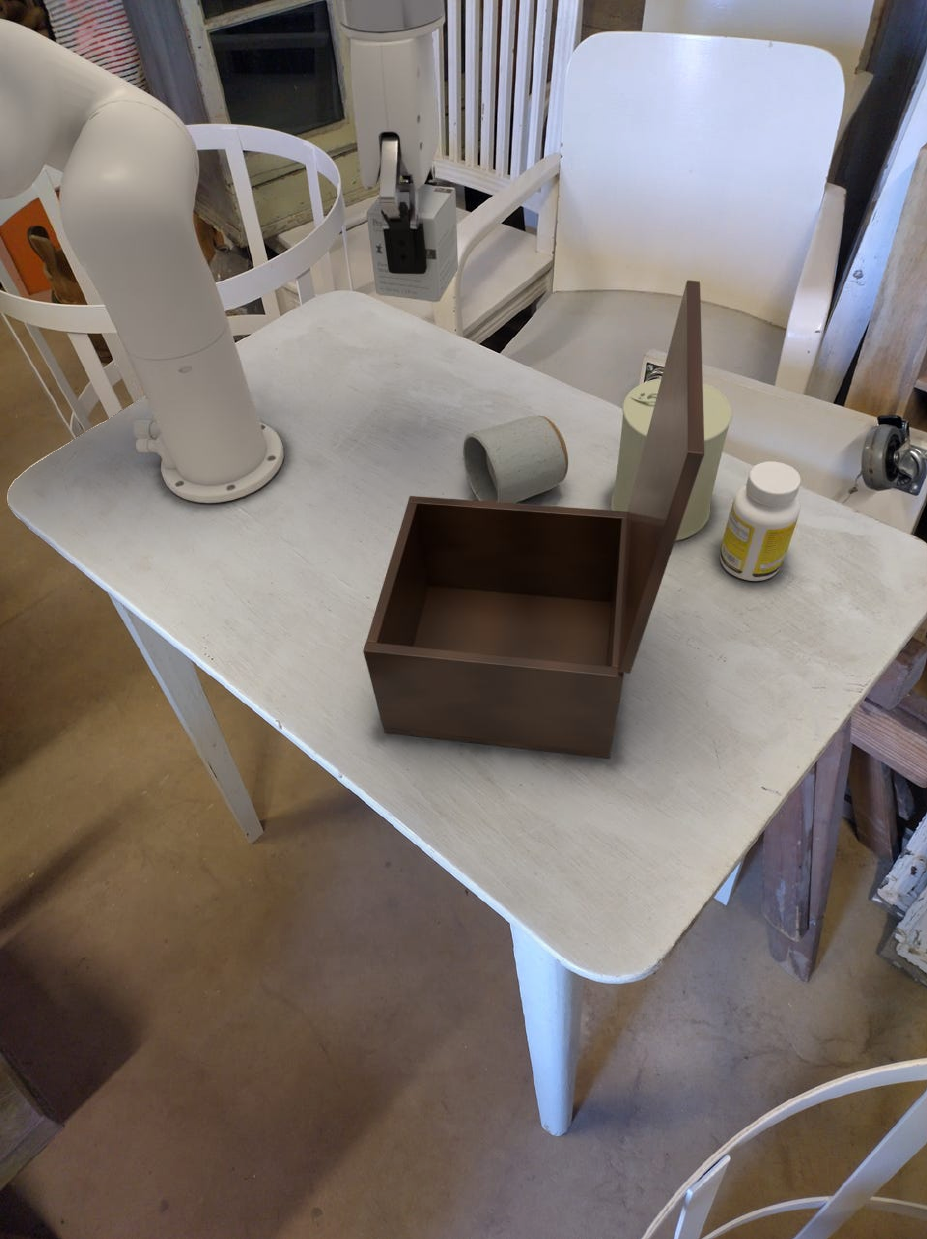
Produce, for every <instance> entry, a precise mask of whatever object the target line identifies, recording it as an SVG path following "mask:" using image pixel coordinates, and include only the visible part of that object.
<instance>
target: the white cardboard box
mask: <svg viewBox="0 0 927 1239" xmlns="http://www.w3.org/2000/svg"><path fill="white" fill-rule="evenodd" d="M456 193H457V192H456V188H455V187H451V186H439V185H437V186H432V185H427V184H423V185H422V186H421V187H420V188H419V189H418V206H419V223H423V230H424V241H425V252H426V263H427V269H426V272H425V273H424V274H393V273H390V272H389V270H388V263H387V255H386V247H385V240H384V232H383V225H382V214H381V210H382V208H381V206H380V202H379V196H378V197H377V198H376V199H375V200H374V202H372V204H371V205H370V206H369V207H368V209H367V210H366V222H367V232H368V238H369V246H370V247H369V248H370V256H371V263H372V272H373V279H374V288H375V293H376V294H377V295H378V296H384V297H393V298H403V299H410V300H418V301H425V302H431V303H438V302H441V301H442V300H441V299H442V298H443V296H444V295H445V293H446V291H447V290H448V288H449V285H450V284H451V282H452V281H453V279H454V277H455V275H456V274H457V272H458V270H459V258H458V257H459V256H458V254H459V253H458V229H457V228H458V227H457V226H458V225H457V224H458V223H457V201H456V200H457V199H456V198H457V197H456ZM399 194H400V197H401V202H406V204H407V206H408V208H409V193H399Z"/></svg>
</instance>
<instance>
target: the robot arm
mask: <svg viewBox="0 0 927 1239" xmlns="http://www.w3.org/2000/svg"><path fill="white" fill-rule="evenodd" d="M335 3H336V9H337V15H338V16H337V17H338V22H339V30H340V32H341V34H342V35H343V36H346V37H348V38H350V41H349V44H350V46H349V47H350V48H349V50H350V51H349V52H350V53H349V54H350V55H349V56H350V57H349V58H350V78H351V80H350V81H351V93H352V94H351V95H352V105H353V116H354V126H355V135H356V146H357V156H358V165H359V174H360V182H361V185H362V186H363V188H365V189H366V190H367V191H371V190H373V188H376V186H377V184H378V182H379V189H378V190H379V191H378V192H379V193H378V197H379V202H380V206H381V208H382V210H381V214H382V225H383V232H384V240H385V247H386V255H387V263H388V270H389V272H390V273H393V274H424V273H425V272H426V269H427V263H426V252H425V241H424V230H423V223H419V206H418V189H419V188H420V187H421V186H422V185H423V184H427V185H432V186H438V183H437V181H436V165H435V160H434V159H435V157H436V153H437V150H438V146H439V138H440V117H439V98H438V84H437V83H438V82H437V70H436V59H435V50H434V37H433V33H434V32H436V31H437V30H438V29H441V28H442V27H443V26H444V25H445V22H446V11H445V0H335ZM45 165H46V166H48V167H51V169H52V168H53V169H55V170H57V171H59V172H60V173H62V174H61V179H60V186H59V194H58V195H59V196H58V206H59V215H60V220H61V225H62V229H63V231H64V234H65V237H66V239H67V241H68V243H69V246H70V248H71V250H72V251H73V254H74V256H75V257H76V258H77V260H78V262H79V263H80V265H81V267H82V268H83V270H84V271H85V273H86V274H87V276H88V278H89V279H90V281H91V283H92V284H93V286H94V288H95V290H96V291H97V293H98V295H99V297H100V298H101V301H102V303H103V305H104V307H105V310H106V311H107V313H108V315H109V318H110V320H111V322H112V324H113V327H114V329H115V331H116V333H117V335H118V338H119V340H120V343H121V344H122V347H123V348H124V351H125V353H126V355H127V357H128V360H129V362H130V365H131V367H132V369H133V371H134V374H135V377H136V378H137V381H138V383H139V386H140V388H141V390H142V392H143V395H144V397H145V399H146V402H147V404H148V406H149V408H150V411H151V413H152V415H153V418H154V420H151V419H150V420H149V419H148V420H147V419H136V420H135V421H134V423H133V434H134V436H135V437H136V438H137V439H136V441H135V449H136V450H137V452H139V453H140V452H141V453H157V454H158V455H159V456H160V457H161V459H162V460H161V464H160V471H161V475H162V478H163V480H164V482H165V484H166V486H167V487H168V488H169V490H170V491H171V492H172V493H173V494H175V495H176V496H178V497H180V498H182V499H184V500H185V501H190V502H195V503H201V504H203V503H204V504H216V503H223V502H229V501H234V500H237V499H241V498H243V497H246V496H248V495H250V494H252V493H254V492H255V491H257V490H259V489H261V488H262V487H264V486H265V485H266V484H267V483H269V482H270V480H272V479H273V478H274V476H275V475H276V474H277V473H278V472H279V470H280V468H281V466H282V464H283V461H284V455H285V454H284V446H283V443H282V439H281V438H280V436H279V434H278V433H277V431H276V430H274V428H273V427H271V426H269V425H268V424H266V423H264V422H261V421H260V419H259V415H258V412H257V409H256V405H255V402H254V399H253V397H252V392H251V390H250V386H249V383H248V380H247V377H246V374H245V371H244V367H243V364H242V360H241V357H240V354H239V351H238V348H237V344H236V342H235V339H234V335H233V332H232V329H231V325H230V322H229V319H228V316H227V313H226V310H225V307H224V303H223V301H222V298H221V294H220V291H219V289H218V286H217V283H216V280H215V278H214V275H213V273H212V271H211V268H210V266H209V263H208V262H207V259H206V257H205V255H204V253H203V250H202V248H201V245H200V242H199V239H198V236H197V232H196V228H195V223H194V222H195V221H194V210H195V204H196V194H197V190H198V184H199V178H200V160H199V153H198V149H197V145H196V142H195V140H194V138H193V135H192V134H191V132H190V130H189V128H188V127H187V126H186V124H185V123H184V122H183V120H182V119H181V118H180V117H179V116H178V114H177V113H175V112H174V111H173V110H172V109H171V108H170V107H168V106H167V105H166V104H165V103H164V102H162V101H161V100H159V99H158V98H156V97H155V96H153V95H152V94H149V93H148V92H147V91H145V90H143V89H141V88H139V87H137V85H135V84H132V83H130V82H129V81H127V80H125V79H124V78H121V77H120V76H117V75H116V74H114V73H112V72H110V71H109V70H107V69H105V68H103V67H101V66H99V65H97V64H96V63H94V62H93V61H90V60H88V59H86V58H85V57H83V56H81V55H79V54H77V53H75V52H74V51H72V50H70V49H68V48H67V47H65V46H63V45H62V44H59V43H57V42H56V41H54V40H52V39H50V38H48V37H47V36H44V35H42V34H41V33H39V32H37V31H35V30H33V29H31V28H29V27H26V26H24V25H22V24H19V23H17V22H14V21H12V20H11V21H10V20H7V19H3V18H0V200H7V199H12V198H16V197H18V196H20V195H21V194H23V193H24V192H26V191H27V190H28V189H29V188H31V186H32V185H33V184H34V183H35V181H36V180H37V178H38V177H39V175H40V174H41V172H42V171H43V169H44V167H45ZM400 177H401V178H402V181H400V179H401V178H400ZM399 193H409V208H408V206H407V204H406V202H401V197H400V194H399Z"/></svg>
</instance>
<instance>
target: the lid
mask: <svg viewBox="0 0 927 1239" xmlns="http://www.w3.org/2000/svg"><path fill="white" fill-rule="evenodd" d="M701 298H702V296H701V282H700V281H699V280H698V281H697V280H686V282H685V286H684V290H683V293H682V298H681V302H680V305H679V309H678V314H677V316H676V321H675V324H674V328H673V333H672V336H671V340H670V344H669V347H668V352H667V356H666V360H665V363H664V367H663V371H662V375H661V377H660V378H661V382H660V386H659V390H658V394H657V398H656V401H655V405H654V409H653V413H652V417H651V421H650V425H649V428H648V432H647V436H646V440H645V444H644V448H643V452H642V456H641V459H640V463H639V467H638V471H637V475H636V479H635V483H634V486H633V490H632V494H631V498H630V502H629V506H628V519H627V536H626V553H625V569H624V586H623V603H622V620H621V636H620V653H619V670H618V671H619V672H621V673H624V674H627V675H628V674H629V675H630V674H631V672H632V670H633V667H634V664H635V661H636V659H637V656H638V652H639V649H640V646H641V644H642V641H643V638H644V635H645V631H646V630H647V626H648V623H649V620H650V618H651V614H652V611H653V608H654V606H655V603H656V599H657V596H658V593H659V590H660V587H661V584H662V582H663V578H664V575H665V573H666V569H667V567H668V563H669V560H670V558H671V554H672V552H673V549H674V546H675V543H676V541H675V540H676V537H677V534H678V531H679V528H680V525H681V522H682V519H683V516H684V513H685V511H686V508H687V505H688V502H689V499H690V496H691V493H692V490H693V487H694V484H695V481H696V478H697V475H698V472H699V469H700V466H701V463H702V460H703V457H704V415H703V383H704V381H703V338H702V337H703V336H702V335H703V334H702V302H701V301H702V300H701Z"/></svg>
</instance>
